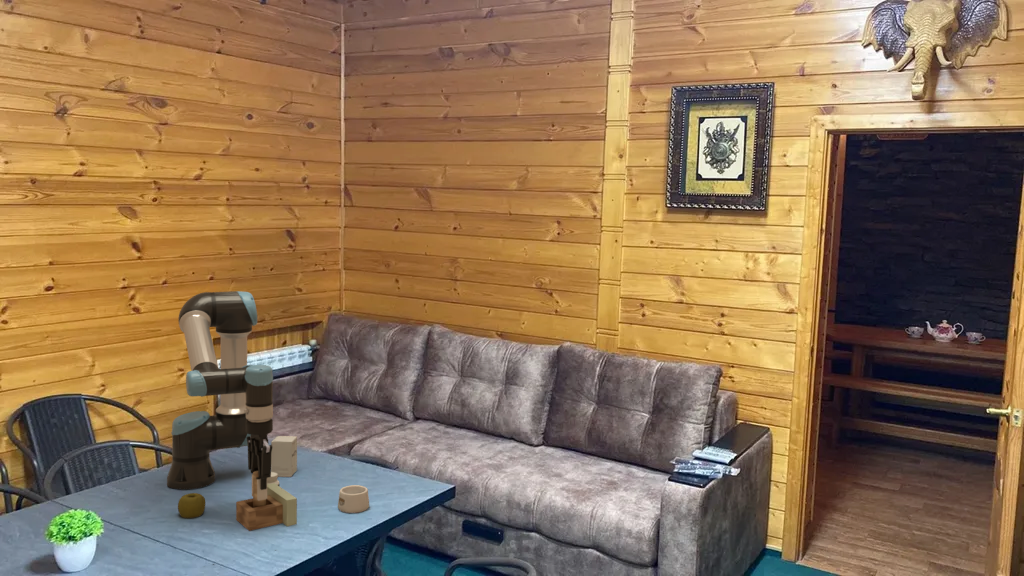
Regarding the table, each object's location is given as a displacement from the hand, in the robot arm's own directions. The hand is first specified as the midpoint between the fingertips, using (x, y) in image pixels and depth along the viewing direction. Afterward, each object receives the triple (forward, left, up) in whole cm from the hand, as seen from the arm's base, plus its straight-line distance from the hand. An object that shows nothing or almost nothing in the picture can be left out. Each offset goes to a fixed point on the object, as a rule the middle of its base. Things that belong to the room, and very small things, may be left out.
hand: (259, 497), depth 233 cm
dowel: (0, 0, -5) cm, 5 cm away
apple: (-17, -14, -9) cm, 24 cm away
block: (0, 0, -7) cm, 7 cm away
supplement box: (-40, +25, -9) cm, 48 cm away
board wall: (0, -6, -9) cm, 11 cm away
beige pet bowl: (+2, +29, -9) cm, 30 cm away
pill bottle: (-14, +9, -9) cm, 19 cm away
